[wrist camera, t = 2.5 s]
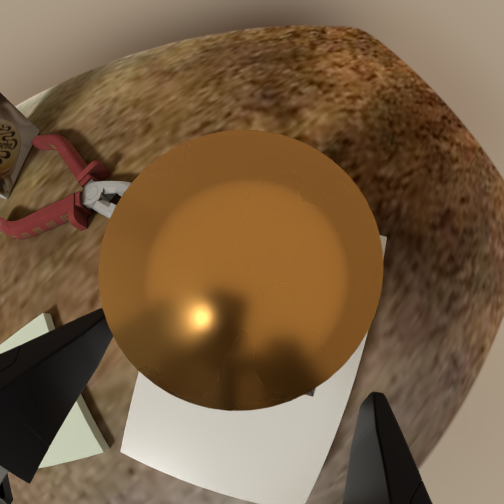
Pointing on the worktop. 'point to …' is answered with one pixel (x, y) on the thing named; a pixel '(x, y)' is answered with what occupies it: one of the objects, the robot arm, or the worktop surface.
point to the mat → (79, 418)
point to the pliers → (73, 205)
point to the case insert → (241, 438)
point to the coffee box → (13, 144)
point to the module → (240, 270)
